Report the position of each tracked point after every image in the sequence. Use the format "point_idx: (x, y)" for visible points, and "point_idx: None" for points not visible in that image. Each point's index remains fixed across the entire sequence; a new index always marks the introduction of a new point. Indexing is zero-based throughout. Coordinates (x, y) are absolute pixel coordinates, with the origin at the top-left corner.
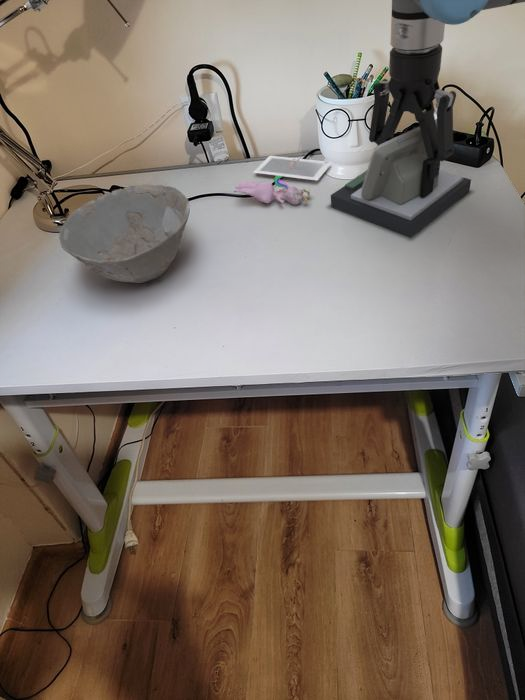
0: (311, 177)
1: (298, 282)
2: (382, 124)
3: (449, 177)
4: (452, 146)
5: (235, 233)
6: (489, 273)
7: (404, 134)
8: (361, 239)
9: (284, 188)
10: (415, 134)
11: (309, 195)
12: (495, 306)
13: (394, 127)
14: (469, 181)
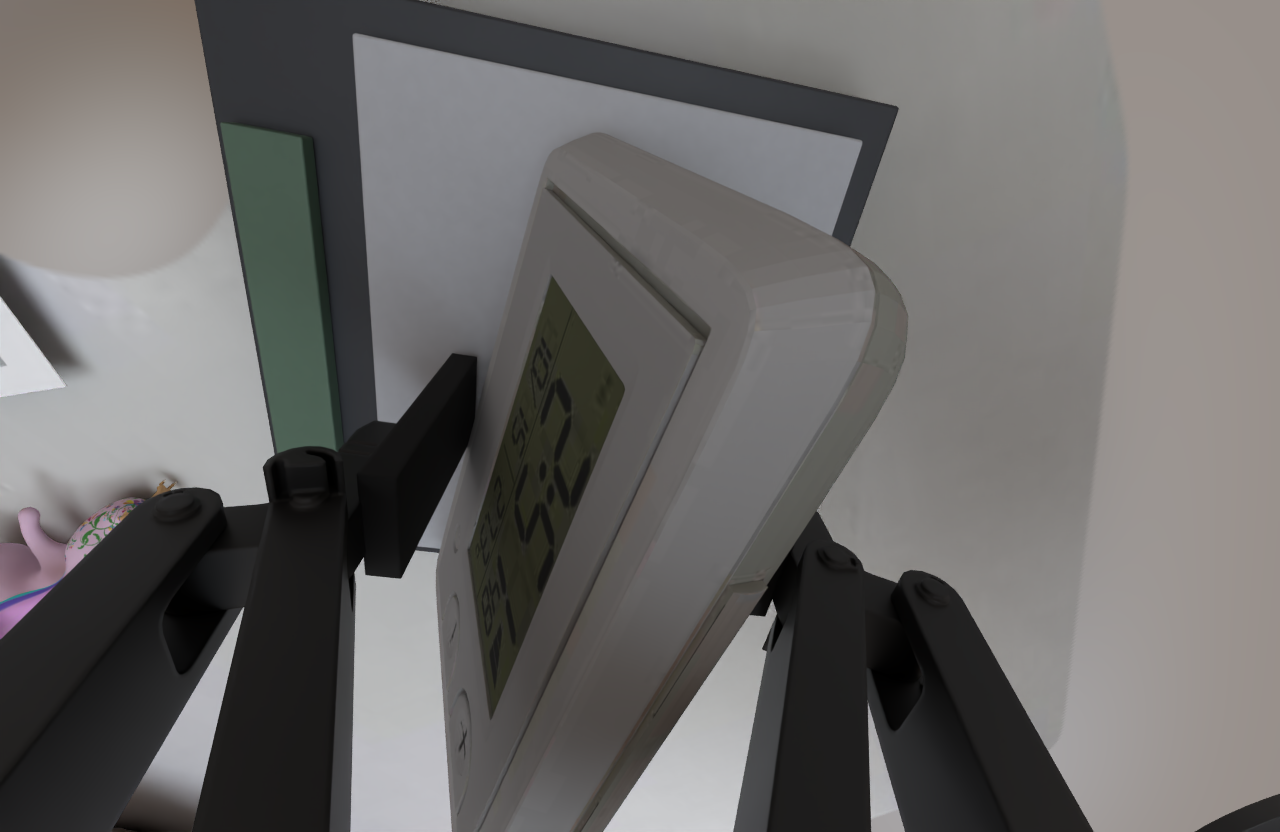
0: (6, 373)
1: None
2: (151, 648)
3: (778, 195)
4: (978, 642)
5: (188, 716)
6: (996, 591)
7: (557, 786)
8: None
9: (36, 536)
10: (652, 756)
11: (165, 480)
12: (1013, 675)
13: (344, 682)
14: (889, 130)
